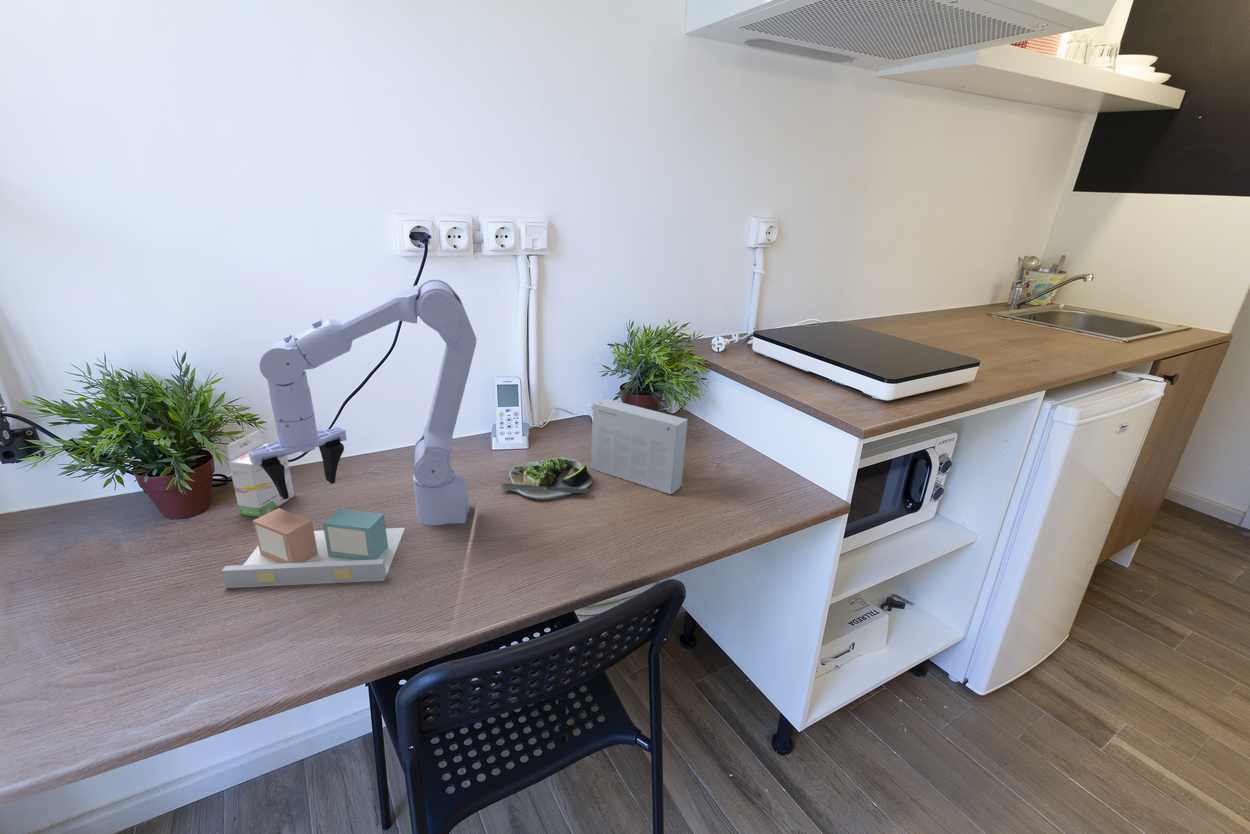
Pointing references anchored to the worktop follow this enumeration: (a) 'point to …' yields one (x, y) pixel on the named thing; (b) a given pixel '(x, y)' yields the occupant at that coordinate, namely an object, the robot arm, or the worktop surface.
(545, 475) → the salad plate
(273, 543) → the terracotta carton
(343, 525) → the teal carton
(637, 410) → the skincare box
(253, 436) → the ink box
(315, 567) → the shelf board
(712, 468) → the worktop surface
